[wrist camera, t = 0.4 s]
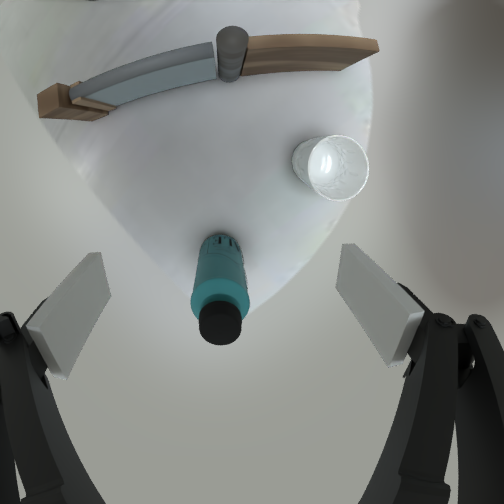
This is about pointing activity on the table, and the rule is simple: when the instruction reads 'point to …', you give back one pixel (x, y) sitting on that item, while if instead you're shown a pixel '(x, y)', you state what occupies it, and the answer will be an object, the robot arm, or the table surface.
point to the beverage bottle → (220, 290)
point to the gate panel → (146, 77)
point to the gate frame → (241, 63)
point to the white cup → (332, 166)
